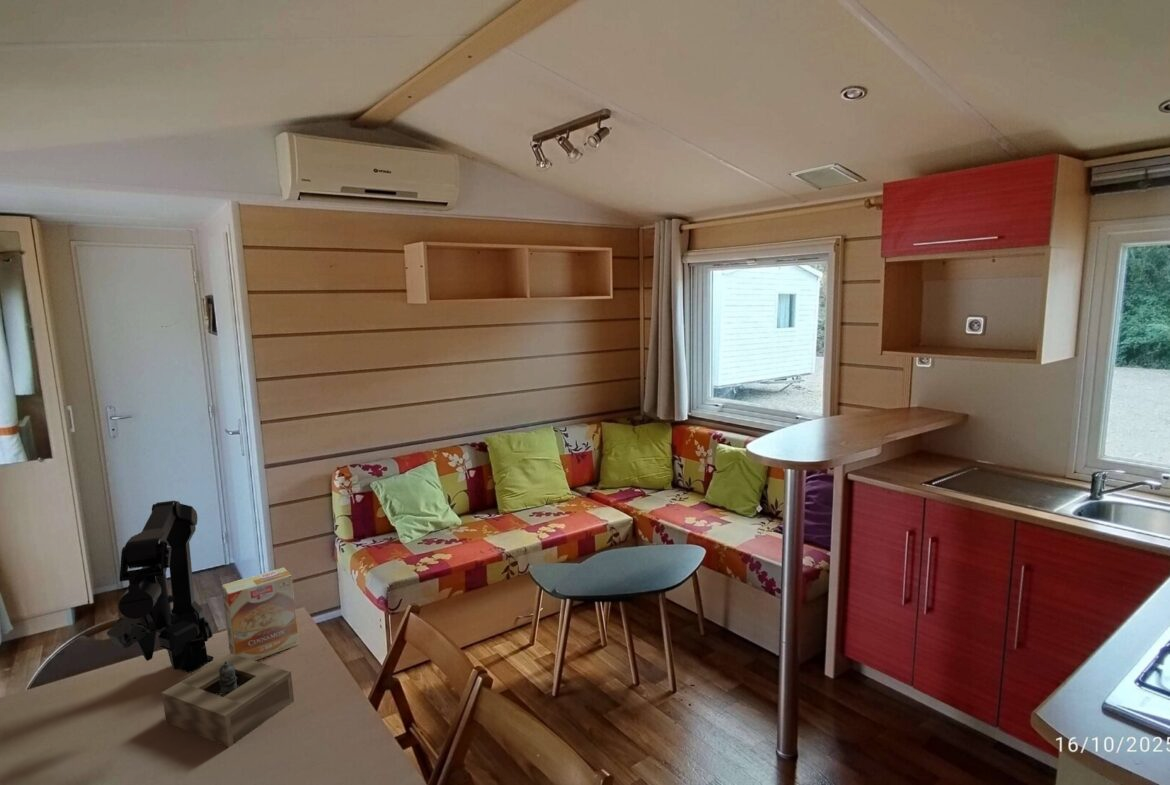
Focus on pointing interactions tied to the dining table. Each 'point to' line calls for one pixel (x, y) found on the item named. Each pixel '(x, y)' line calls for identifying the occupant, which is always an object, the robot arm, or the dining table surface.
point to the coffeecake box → (260, 614)
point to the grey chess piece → (227, 679)
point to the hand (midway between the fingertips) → (162, 664)
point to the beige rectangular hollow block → (228, 700)
